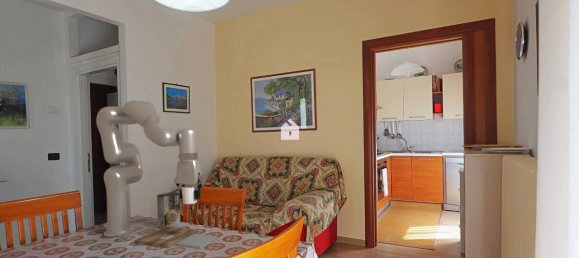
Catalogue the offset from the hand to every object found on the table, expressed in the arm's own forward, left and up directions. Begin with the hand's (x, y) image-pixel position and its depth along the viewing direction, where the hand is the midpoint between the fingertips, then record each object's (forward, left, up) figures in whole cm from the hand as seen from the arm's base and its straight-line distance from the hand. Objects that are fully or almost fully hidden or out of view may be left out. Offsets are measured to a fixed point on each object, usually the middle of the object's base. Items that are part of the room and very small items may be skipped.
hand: (190, 198), depth 125 cm
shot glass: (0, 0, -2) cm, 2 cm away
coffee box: (-25, +15, -19) cm, 35 cm away
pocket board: (-13, 0, -18) cm, 22 cm away
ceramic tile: (+3, 0, -18) cm, 19 cm away
